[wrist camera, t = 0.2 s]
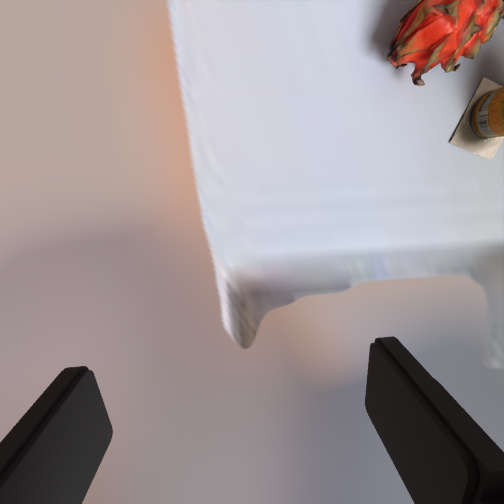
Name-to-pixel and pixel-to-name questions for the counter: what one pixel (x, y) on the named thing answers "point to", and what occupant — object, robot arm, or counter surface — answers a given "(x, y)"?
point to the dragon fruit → (443, 33)
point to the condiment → (482, 121)
